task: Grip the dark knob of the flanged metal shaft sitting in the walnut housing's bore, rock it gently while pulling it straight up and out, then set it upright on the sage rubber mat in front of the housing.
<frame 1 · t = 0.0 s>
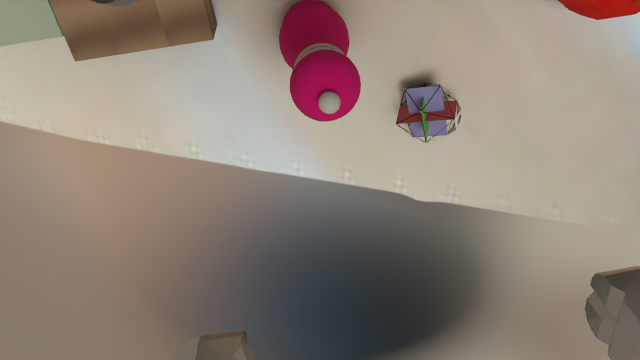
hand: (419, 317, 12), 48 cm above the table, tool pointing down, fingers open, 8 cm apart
pepper mill: (310, 27, 56), on the table
geometric puzzle: (419, 99, 63), on the table
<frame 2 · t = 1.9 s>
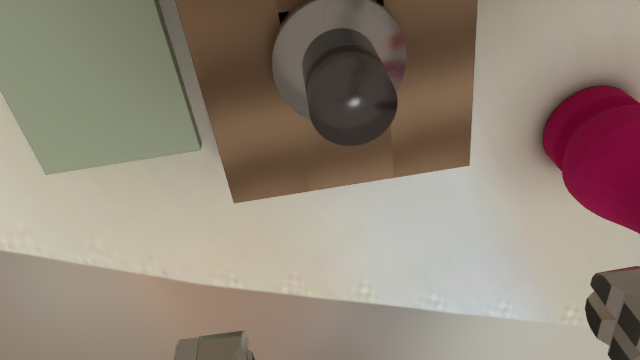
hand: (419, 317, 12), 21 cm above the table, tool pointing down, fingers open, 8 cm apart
housing: (326, 23, 29), on the table
flanged metal shaft: (337, 57, 25), in the housing
mat: (86, 61, 29), on the table
pepper mill: (585, 125, 35), on the table
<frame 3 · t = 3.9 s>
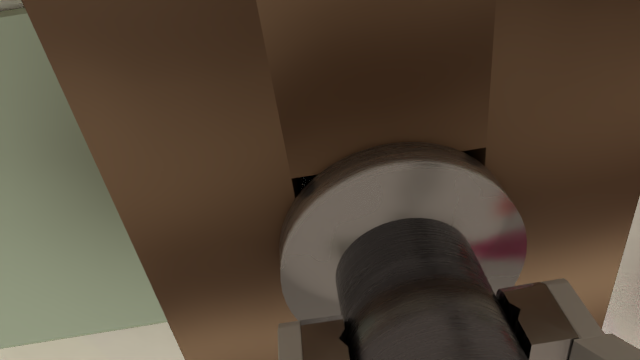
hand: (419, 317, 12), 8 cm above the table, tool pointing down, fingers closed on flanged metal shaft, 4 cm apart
housing: (364, 147, 18), on the table
flanged metal shaft: (396, 246, 14), in the housing, touching gripper
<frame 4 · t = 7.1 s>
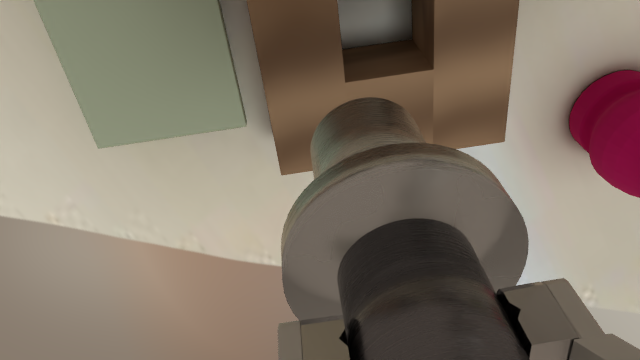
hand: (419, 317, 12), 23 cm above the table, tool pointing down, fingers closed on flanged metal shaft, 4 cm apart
housing: (371, 5, 31), on the table
flanged metal shaft: (397, 247, 14), point 21 cm above the table, touching gripper
mat: (143, 39, 31), on the table
pepper mill: (609, 108, 37), on the table
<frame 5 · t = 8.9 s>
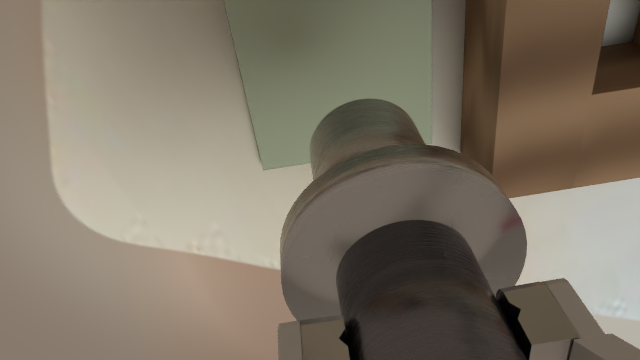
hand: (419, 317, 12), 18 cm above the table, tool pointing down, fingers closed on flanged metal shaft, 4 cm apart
housing: (596, 3, 27), on the table
flanged metal shaft: (396, 248, 14), point 16 cm above the table, touching gripper
mat: (333, 45, 27), on the table
when the fingers open (10 cm above the table, at t = 10.6 s): flanged metal shaft drops 1 cm, resting on mat.
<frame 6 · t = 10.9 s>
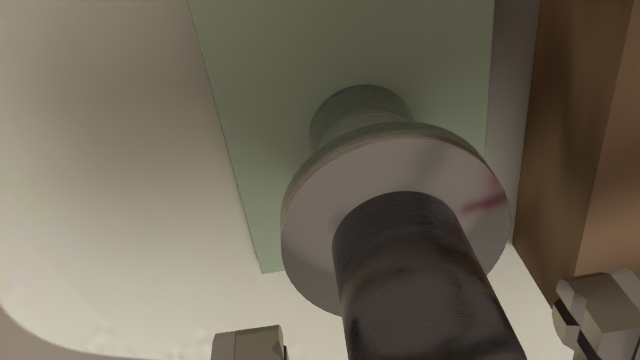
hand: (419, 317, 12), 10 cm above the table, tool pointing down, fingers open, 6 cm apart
flanged metal shaft: (389, 221, 15), on the mat, point 6 cm above the table
mat: (355, 122, 20), on the table
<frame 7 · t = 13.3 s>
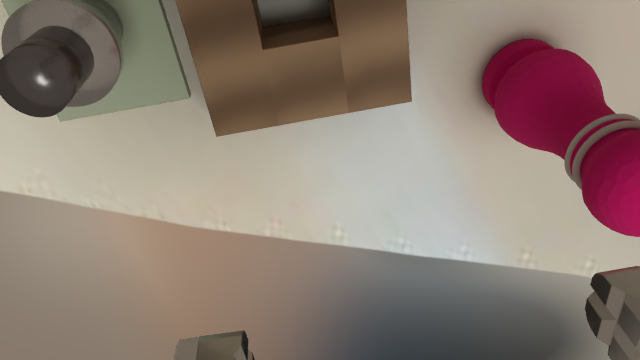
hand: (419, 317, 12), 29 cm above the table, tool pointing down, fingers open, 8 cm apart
flanged metal shaft: (67, 51, 30), on the mat, point 6 cm above the table
mat: (94, 21, 36), on the table
pepper mill: (518, 75, 41), on the table
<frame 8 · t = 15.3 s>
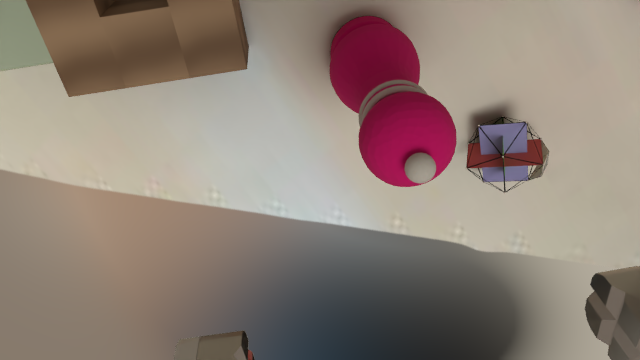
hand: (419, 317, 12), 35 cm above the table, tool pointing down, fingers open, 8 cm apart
pepper mill: (365, 50, 45), on the table
geometric puzzle: (490, 136, 51), on the table
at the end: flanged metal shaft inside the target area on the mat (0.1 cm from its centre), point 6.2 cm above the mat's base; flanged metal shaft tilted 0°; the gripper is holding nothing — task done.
